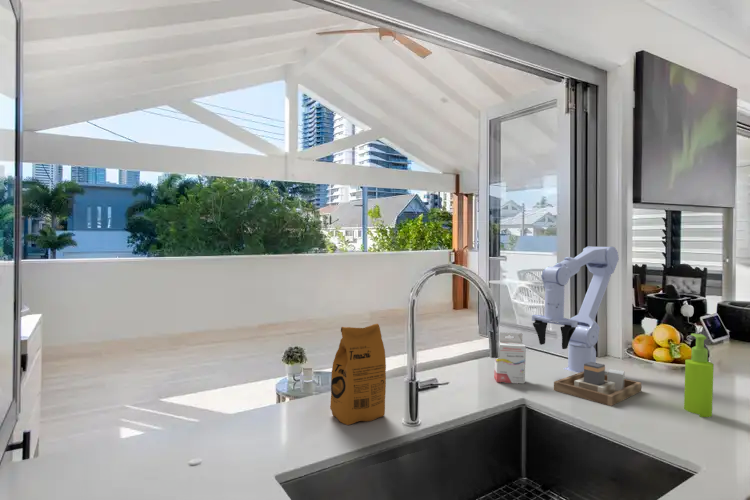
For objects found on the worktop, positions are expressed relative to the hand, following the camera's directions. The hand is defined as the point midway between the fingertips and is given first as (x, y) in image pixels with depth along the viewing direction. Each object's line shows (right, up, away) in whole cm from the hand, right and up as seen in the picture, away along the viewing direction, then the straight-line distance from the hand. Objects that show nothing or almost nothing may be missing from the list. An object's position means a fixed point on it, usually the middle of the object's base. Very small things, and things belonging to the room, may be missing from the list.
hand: (553, 346), depth 147 cm
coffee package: (-61, -10, -36) cm, 72 cm away
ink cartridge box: (-15, -10, -5) cm, 19 cm away
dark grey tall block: (+5, -10, -16) cm, 20 cm away
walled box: (+7, -10, -15) cm, 19 cm away
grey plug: (+13, -10, -13) cm, 21 cm away
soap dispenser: (+26, -11, -29) cm, 40 cm away
